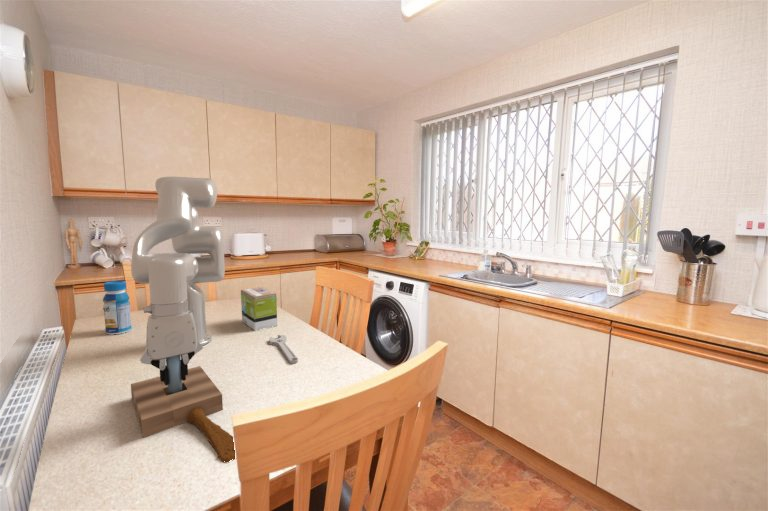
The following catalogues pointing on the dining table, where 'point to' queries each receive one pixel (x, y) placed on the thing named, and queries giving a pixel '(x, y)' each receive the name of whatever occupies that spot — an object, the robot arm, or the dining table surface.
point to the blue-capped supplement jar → (116, 308)
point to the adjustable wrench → (284, 348)
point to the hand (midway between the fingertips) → (174, 380)
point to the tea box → (259, 308)
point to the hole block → (173, 401)
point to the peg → (174, 374)
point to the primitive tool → (214, 435)
